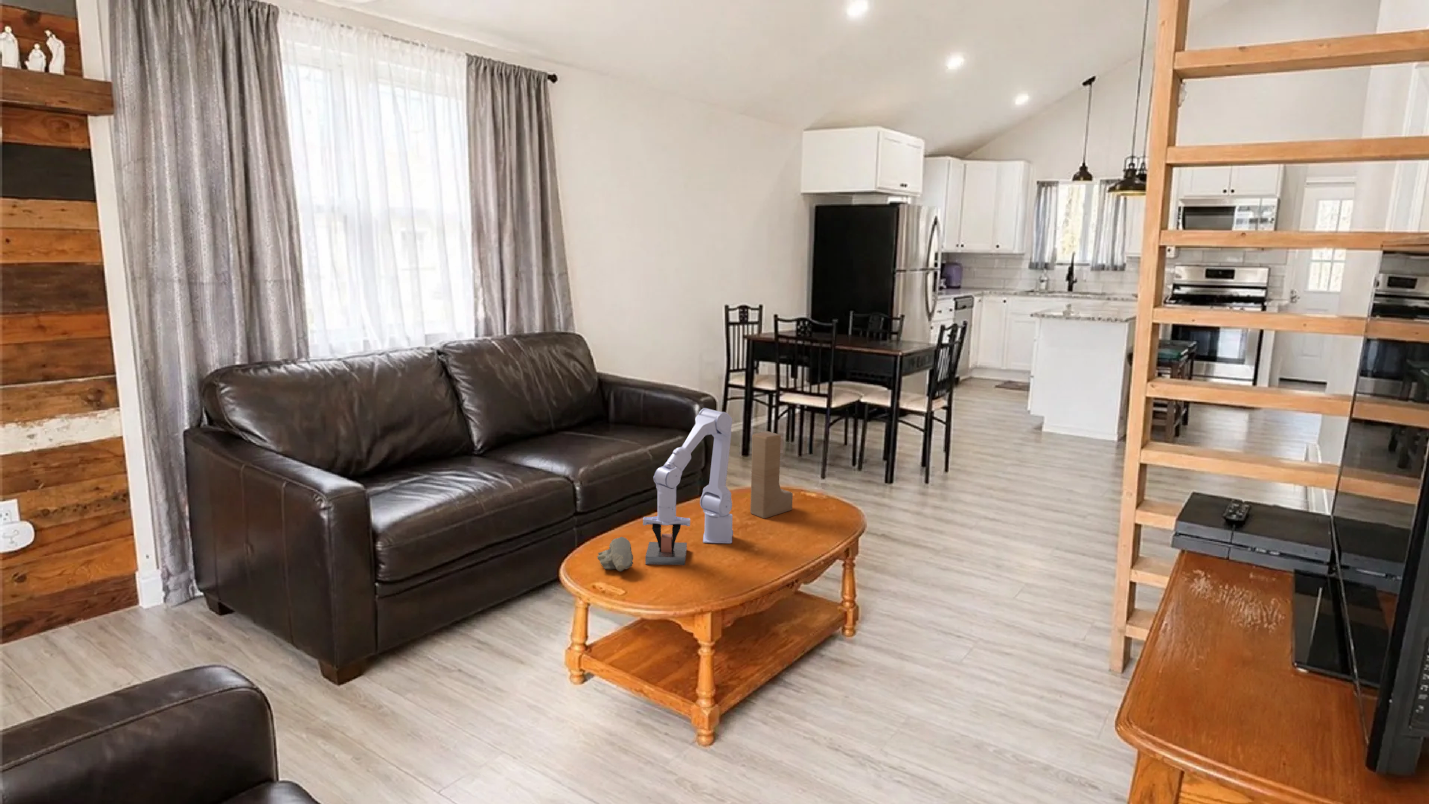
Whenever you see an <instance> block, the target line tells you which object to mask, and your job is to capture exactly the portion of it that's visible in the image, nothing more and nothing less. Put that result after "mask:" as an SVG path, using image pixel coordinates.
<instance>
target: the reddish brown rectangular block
mask: <svg viewBox="0 0 1429 804" xmlns="http://www.w3.org/2000/svg"><path fill="white" fill-rule="evenodd" d="M661 552H672V533H661Z"/></svg>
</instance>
